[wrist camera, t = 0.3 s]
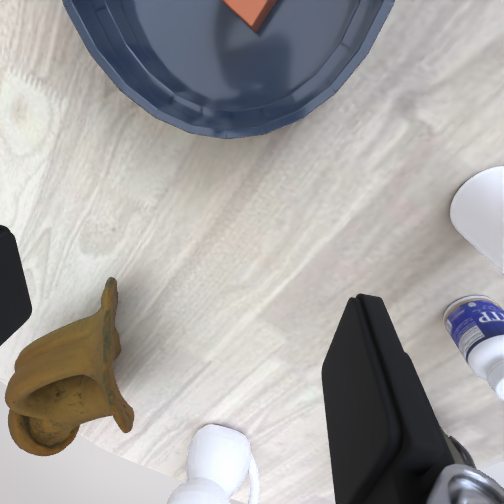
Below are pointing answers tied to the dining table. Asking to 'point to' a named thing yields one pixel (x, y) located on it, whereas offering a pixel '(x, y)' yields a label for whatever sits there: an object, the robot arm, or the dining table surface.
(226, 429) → the cat figurine
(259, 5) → the block
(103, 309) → the brown looped sculpture
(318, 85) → the bowl
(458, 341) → the pill bottle
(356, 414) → the robot arm
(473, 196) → the can
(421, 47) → the dining table surface
